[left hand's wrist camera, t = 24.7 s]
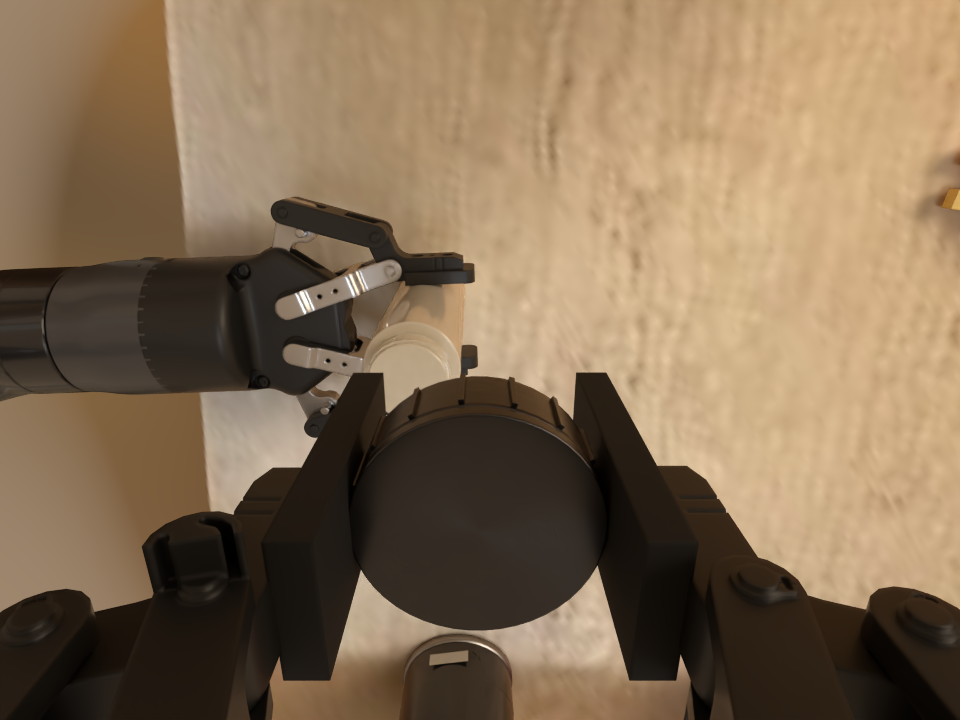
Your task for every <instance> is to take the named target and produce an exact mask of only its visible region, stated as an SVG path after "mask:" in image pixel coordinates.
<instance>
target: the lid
mask: <svg viewBox="0 0 960 720" xmlns="http://www.w3.org/2000/svg"><path fill="white" fill-rule="evenodd" d="M595 463H596V460H595V457H594V455H593V452H592V449H591V446H590V444H589V441H588V438H587V435H586V433H585V431H584V429H581V430H579V428H578V426H577V425H576V424H575V422H574V421H573V420H572V419H571V417H570V416H569V415H568V414H567V413H566V412H565V411H564V410H563V409H562V408H561V407H560V406H559V405H558V401H557V399H556V398H555V397H552V398H551V399H550V398H549V397H547V396H546V395H544V394H542V393H540V392H539V391H537V390H535V389H533V388H531V387H528V386H526V385H523V384H521V383H518V382H515V379H514V378H512V377H509V379H508V380H506V379H502V378H494V377H477V376H471V377H466V374H460V378H454V379H450V380H446V381H442V382H438V383H436V384H433V385H430V386H428V387H425V388H423V389H421V390H420V388H419V387H417V388H416V389H414V392H413V394H412V395H410V396H409V397H408V398H406V399H405V400H403V401H402V402H401V403H399V404H398V405H397V406H396V407H395V408H394V409H393V410H392V411H391V412H390V413H389V414H388V415H387V416H386V417H385V416H383V415H382V416H381V418H380V419H379V422H378V425H377V428H376V430H375V433H374V435H373V438H372V440H371V443H370V445H369V448H368V450H367V453H364V456H363V458H362V461H361V464H360V467H359V469H358V472H357V475H356V477H355V480H354V483H353V491H352V495H351V499H350V503H349V519H350V530H351V540H352V549H353V554H354V556H355V558H356V561H357V563H358V565H359V567H360V568H361V570H362V572H363V574H364V575H365V577H366V578H367V579H368V580H369V582H370V583H371V584H372V586H373V587H374V588H375V589H376V590H377V591H378V592H379V593H380V594H381V595H382V596H383V597H384V598H386V599H387V600H388V601H390V602H391V603H392V604H394V605H395V606H396V607H398V608H400V609H401V610H403V611H405V612H406V613H408V614H410V615H412V616H414V617H417V618H419V619H421V620H423V621H426V622H429V623H432V624H436V625H439V626H444V627H448V628H453V629H462V630H494V629H503V628H508V627H513V626H517V625H520V624H524V623H527V622H530V621H533V620H535V619H537V618H540V617H542V616H544V615H546V614H548V613H550V612H551V611H553V610H555V609H557V608H558V607H560V606H561V605H562V604H564V603H565V602H566V601H568V600H569V599H570V598H571V597H573V596H574V595H575V594H576V593H577V592H578V591H579V590H580V589H581V588H582V587H583V585H584V584H585V583H586V582H587V581H588V579H589V578H590V577H591V575H592V573H593V572H594V570H595V568H596V567H597V565H598V563H599V560H600V558H601V556H602V554H603V551H604V547H605V543H606V539H607V532H608V509H607V504H606V500H605V495H604V492H603V490H602V487H601V484H600V481H599V478H598V475H597V473H596V470H595V467H594V464H595Z"/></svg>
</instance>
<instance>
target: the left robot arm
mask: <svg viewBox="0 0 960 720" xmlns="http://www.w3.org/2000/svg"><path fill="white" fill-rule="evenodd" d="M382 415H383V416H385V417H386V405H385V390H384V374H383V373H353V374H352V376H351V378H350V380H349V382H348V383H347V385H346V387H345V389H344V391H343V393H342V394H341V396H340V398H339V400H338V402H337V404H336V405H335V407H334V409H333V411H332V413H331V415H330V416H329V418H328V420H327V422H326V424H325V426H324V427H323V429H322V431H321V433H320V435H319V437H318V438H317V440H316V442H315V444H314V446H313V448H312V449H311V451H310V453H309V455H308V457H307V459H306V460H305V462H304V464H303V466H302V468H272V469H271V470H269V471H268V472H266V473H265V474H264V475H262V476H261V477H260V478H258V479H257V480H255V481H254V482H253V484H252V485H251V487H250V488H249V490H248V491H247V493H246V494H245V496H244V497H243V501H241V502H240V503H239V505H238V506H237V508H236V509H235V511H234V515H231V514H228V513H224V512H220V511H216V512H200V513H195V514H191V515H187V516H183V517H181V518H178V519H176V520H174V521H172V522H169V523H167V524H165V525H164V526H162V527H161V528H160V529H158V530H157V531H155V532H154V533H153V534H151V535H150V536H149V538H148V539H147V540H146V542H145V543H144V544H143V546H142V549H143V553H144V557H145V561H146V565H147V569H148V573H149V577H150V580H151V584H152V588H153V592H154V594H153V597H152V598H150V599H147V600H143V601H140V602H136V603H132V604H127V605H123V606H119V607H114V608H110V609H106V610H101V611H97V612H94V610H93V607H92V603H91V600H90V598H89V597H88V596H86V595H85V594H84V593H83V592H82V591H76V590H70V589H62V590H55V591H47V592H44V593H41V594H38V595H35V596H32V597H29V598H26V599H24V600H22V601H20V602H18V603H16V604H14V605H12V606H10V607H9V608H7V609H5V610H3V611H2V612H0V720H272V711H273V700H272V693H271V687H270V682H269V681H270V679H271V676H272V674H273V671H274V669H275V666H276V663H277V661H278V658H279V657H280V663H281V669H282V675H283V681H330V679H331V676H332V672H333V668H334V665H335V661H336V657H337V654H338V650H339V647H340V643H341V639H342V636H343V632H344V629H345V625H346V621H347V618H348V614H349V611H350V607H351V603H352V600H353V596H354V593H355V589H356V585H357V582H358V578H359V575H360V571H361V568H360V567H359V565H358V563H357V561H356V558H355V556H354V554H353V549H352V540H351V530H350V519H349V503H350V499H351V495H352V491H353V483H354V480H355V477H356V475H357V472H358V469H359V467H360V464H361V461H362V458H363V456H364V453H367V450H368V448H369V445H370V443H371V440H372V438H373V435H374V433H375V430H376V428H377V425H378V422H379V419H380V418H381V416H382ZM573 421H574V422H575V424H576V425H577V426H578V428H579V430H581V429H584V431H585V433H586V435H587V438H588V441H589V444H590V446H591V449H592V452H593V455H594V457H595V460H596V463H595V464H594V467H595V470H596V473H597V475H598V478H599V481H600V484H601V487H602V490H603V492H604V495H605V500H606V504H607V509H608V532H607V539H606V543H605V547H604V551H603V554H602V556H601V558H600V560H599V563H598V569H599V572H600V576H601V579H602V583H603V587H604V590H605V594H606V597H607V601H608V605H609V608H610V612H611V615H612V619H613V623H614V626H615V630H616V633H617V637H618V641H619V644H620V648H621V652H622V655H623V659H624V662H625V666H626V670H627V673H628V677H629V680H630V681H676V679H677V673H678V667H679V661H680V654H681V656H682V659H683V662H684V664H685V667H686V669H687V672H688V674H689V677H690V679H691V682H690V687H689V693H688V698H687V704H686V710H685V715H684V720H960V610H959V609H958V608H957V607H955V606H953V605H951V604H949V603H947V602H945V601H943V600H942V599H940V598H938V597H936V596H933V595H930V594H928V593H924V592H921V591H918V590H915V589H909V588H902V587H888V588H881V589H878V590H877V591H876V592H875V593H873V594H872V595H871V596H870V599H869V602H868V605H867V608H866V610H865V609H860V608H856V607H852V606H847V605H843V604H838V603H834V602H830V601H825V600H821V599H818V598H815V597H811V596H808V595H807V593H806V591H805V590H804V588H803V587H802V585H801V584H800V582H799V581H798V579H796V578H795V577H794V576H793V575H791V574H790V573H789V572H788V571H787V570H785V569H784V568H782V567H780V566H778V565H776V564H774V563H772V562H770V561H768V560H765V559H761V558H758V557H757V555H756V554H755V552H754V551H753V549H752V548H751V546H750V545H749V543H748V542H747V540H746V539H745V537H744V536H743V534H742V533H741V531H740V530H739V528H738V527H737V525H736V524H735V522H734V521H733V519H732V518H731V516H730V515H729V513H726V509H725V507H724V506H723V504H722V503H721V501H720V500H719V499H717V495H716V494H715V492H714V491H713V489H712V488H711V486H710V485H709V483H708V482H707V480H706V479H704V478H703V477H701V476H700V475H699V474H697V473H696V472H695V471H693V470H692V469H690V468H689V467H688V466H657V465H656V463H655V461H654V459H653V457H652V456H651V454H650V452H649V450H648V448H647V446H646V445H645V443H644V441H643V439H642V437H641V435H640V434H639V432H638V430H637V428H636V426H635V424H634V423H633V421H632V419H631V417H630V415H629V413H628V412H627V410H626V408H625V406H624V404H623V402H622V401H621V399H620V397H619V395H618V393H617V391H616V390H615V388H614V386H613V384H612V382H611V380H610V379H609V377H608V375H607V373H576V384H575V400H574V415H573Z"/></svg>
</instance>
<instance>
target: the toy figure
mask: <svg viewBox="0 0 960 720" xmlns="http://www.w3.org/2000/svg"><path fill="white" fill-rule="evenodd" d="M942 208H948V209H954V210H960V189H949V191H948V193H947V196H946V198H945V200H944V203H943V205H942Z"/></svg>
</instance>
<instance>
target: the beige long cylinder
mask: <svg viewBox="0 0 960 720" xmlns="http://www.w3.org/2000/svg"><path fill="white" fill-rule="evenodd" d="M464 301H465V286H464V284H440V285H414V286H405V281H402V283H401V284H400V286H399V288H398V290H397V292H396V294H395V296H394V298H393V300H392V301H391V303H390V305H389V307H388V309H387V311H386V313H385V315H384V316H383V318H382V320H381V322H380V324H379V326H378V328H377V330H376V331H375V333H374V335H373V337H372V339H371V341H370V343H369V345H368V347H367V348H366V351H365V354H364V359H363V372H364V373H383V374H384V390H385V405H386V412H388V413H390V412H391V411H392V410H393V409H394V408H395V407H396V406H397V405H398V404H399V403H401V402H402V401H403V400H405V399H406V398H408V397H409V396H410V395H412V394H413V392H414V389H416V388H417V387H419V388H420V390H421V389H423V388H425V387H428V386H430V385H433V384H436V383H438V382H442V381H446V380H450V379H454V378H460V374H461V360H462V340H463V321H464Z"/></svg>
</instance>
